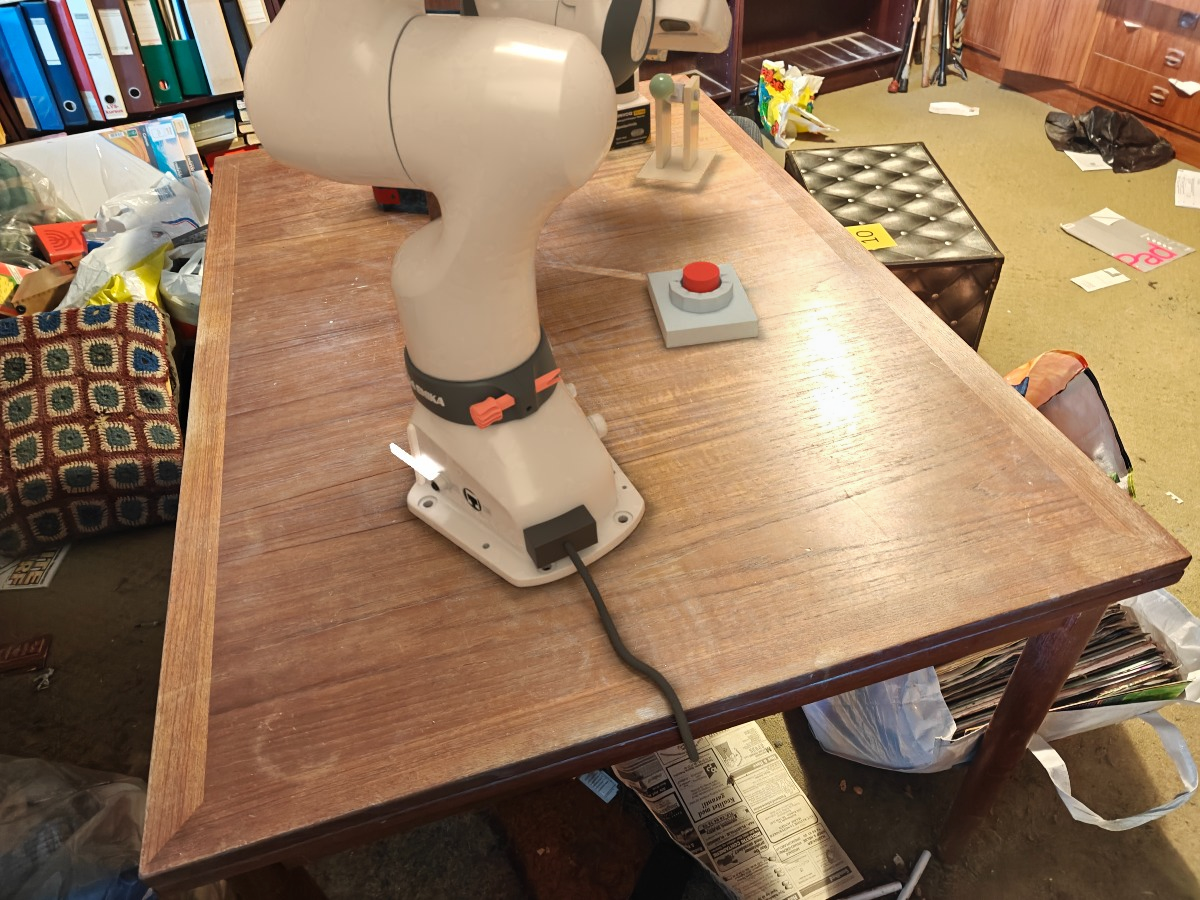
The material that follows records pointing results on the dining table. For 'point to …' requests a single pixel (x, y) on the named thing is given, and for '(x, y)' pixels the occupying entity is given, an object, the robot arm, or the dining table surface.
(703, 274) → the button
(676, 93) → the green knob lever
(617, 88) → the medicine bottle
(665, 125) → the ball knob lever stand
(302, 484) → the dining table surface
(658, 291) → the control block
